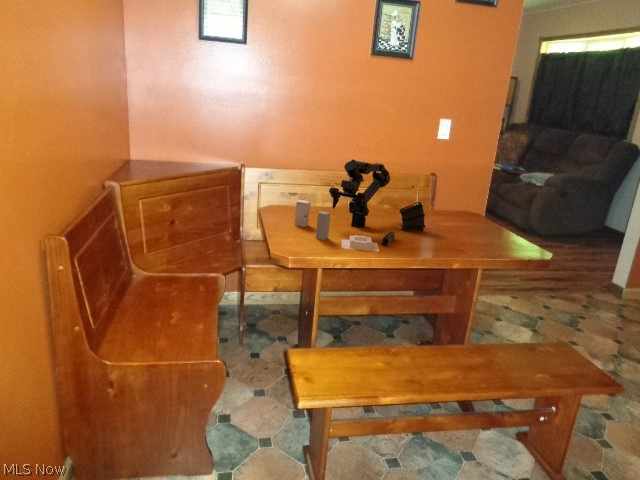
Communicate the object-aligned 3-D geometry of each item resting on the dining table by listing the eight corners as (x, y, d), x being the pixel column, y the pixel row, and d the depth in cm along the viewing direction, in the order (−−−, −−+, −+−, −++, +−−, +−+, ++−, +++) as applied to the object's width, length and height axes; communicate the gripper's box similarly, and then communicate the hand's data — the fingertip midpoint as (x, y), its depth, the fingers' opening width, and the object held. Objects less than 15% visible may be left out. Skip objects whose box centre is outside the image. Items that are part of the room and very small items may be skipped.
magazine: (430, 229, 234) (422, 202, 229) (406, 238, 235) (397, 212, 230) (428, 227, 238) (419, 201, 233) (404, 236, 238) (395, 210, 233)
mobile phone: (388, 239, 203) (396, 230, 217) (381, 237, 205) (390, 228, 218) (387, 249, 205) (395, 240, 218) (380, 248, 206) (389, 238, 219)
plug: (315, 240, 208) (317, 212, 204) (320, 238, 211) (322, 211, 207) (323, 242, 206) (325, 214, 202) (327, 240, 209) (330, 212, 205)
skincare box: (294, 225, 228) (295, 201, 224) (297, 222, 232) (298, 199, 228) (305, 227, 226) (307, 203, 222) (308, 224, 230) (310, 201, 226)
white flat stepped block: (341, 250, 198) (342, 241, 197) (341, 241, 210) (342, 233, 208) (378, 253, 198) (379, 245, 197) (376, 244, 209) (377, 236, 208)
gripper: (332, 170, 219) (319, 197, 213) (368, 176, 211) (355, 204, 205) (338, 184, 228) (326, 210, 223) (373, 190, 220) (361, 217, 214)
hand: (341, 210), depth 216 cm, fingers open, 9 cm apart
